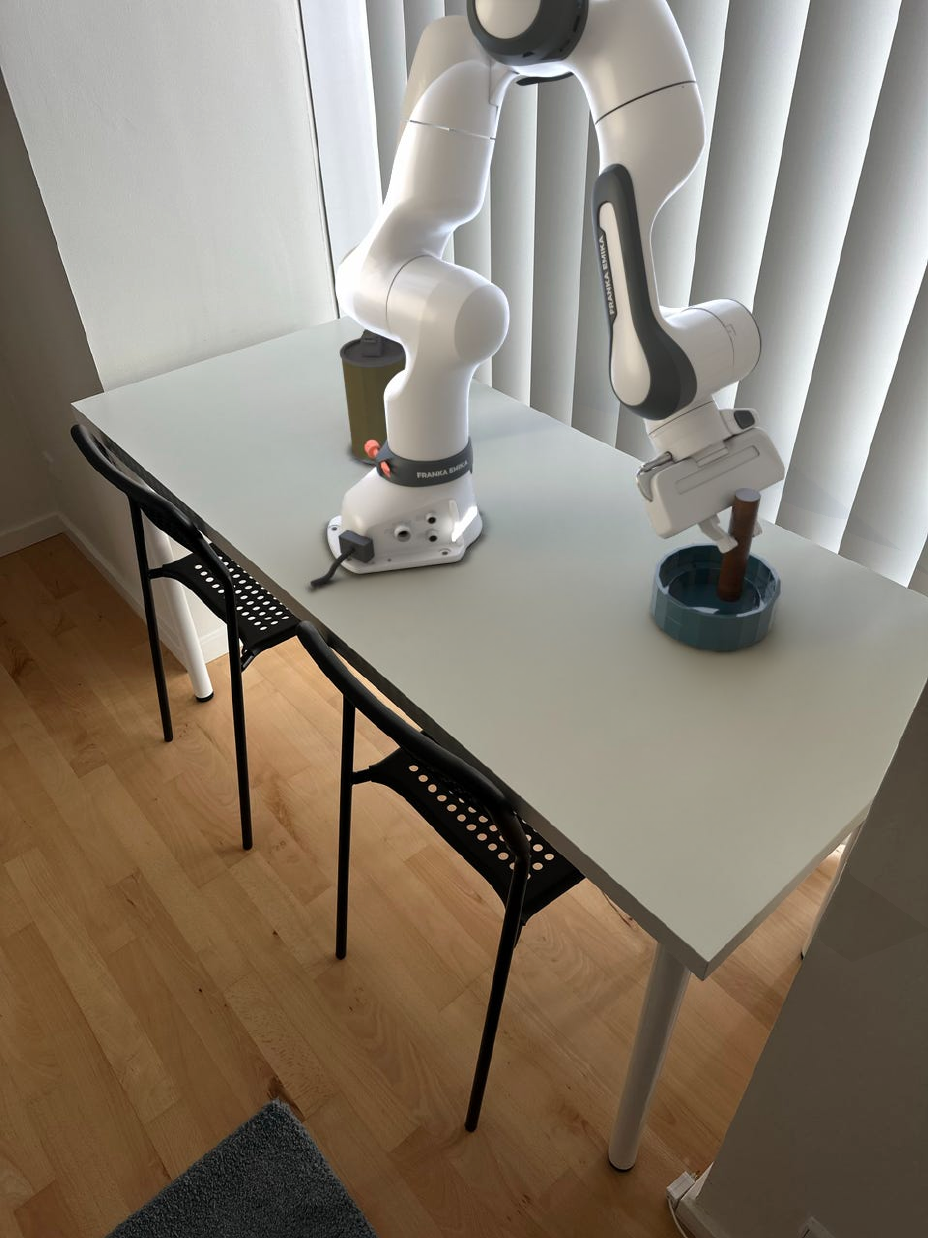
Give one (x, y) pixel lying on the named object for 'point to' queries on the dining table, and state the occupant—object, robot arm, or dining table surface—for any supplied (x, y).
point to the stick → (738, 557)
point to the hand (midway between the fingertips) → (742, 543)
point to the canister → (369, 387)
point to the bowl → (712, 599)
